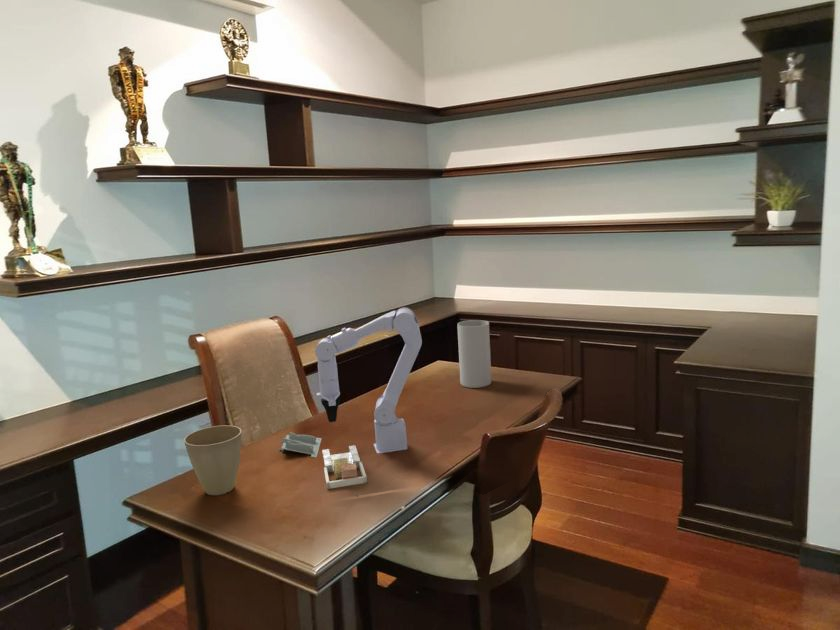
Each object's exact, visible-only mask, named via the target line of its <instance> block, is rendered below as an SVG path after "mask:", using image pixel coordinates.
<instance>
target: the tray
mask: <svg viewBox="0 0 840 630" xmlns="http://www.w3.org/2000/svg"><path fill="white" fill-rule="evenodd" d="M358 469H359V471H360V474H361V476H357V477H355V478H348V479H342V478H341V479H337V480H336V479H335V480H331V481H330V478H329V472H327V467H325V466H324V467H323V473H324V478H325V484H326V489H327V490H329V489H335V488H336V489H337V488H342V487H348V486H349V487H350V486H354V485H362V484H367V483H368V480H367V479H368V478H367V477H368V476H367V474H366V471H365V468H364V465H363V462H362V461H360V462H359V468H358Z"/></svg>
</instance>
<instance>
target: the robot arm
mask: <svg viewBox="0 0 840 630" xmlns="http://www.w3.org/2000/svg"><path fill="white" fill-rule="evenodd" d="M383 330H385V331H388V332H389V331H390V332H394V330H395V331H396V332H397V333H398V334H399V335H400V336H401V338H402V339H403V342H404V346H403V349H402V351H401V353H400V355H399V357H398V359H397V362H396V365H395V367H394V369H393V372H392V373H391V376H390V378H389V381H388V383H387V386H386V388H385V389H384V391H383V393H382V395H381V396H380V397H378V398H377V400H376V402H375V409H374V412H373V418H374V420H373V423H374V433H375V434H374V436H375V443H373V446H374V449H375V451H376V454H383V453H391V452H396V451H403V450H408V439H407V438H408V437H407V426H406V423H405V420H404V418H398V417H397V415H396V408H397V404H398V401H399V399H400V395H401V394H402V392H403V388H404V386H405V384H406V383H407V379H408V377H409V375H410V373H411V371H412V368H413V366H414V363H415V361H416V359H417V357H418V355H419V352H420V350H421V347H422V344H423V340H422V333H421V331H420V324H419V320H418V317H417V316H416V314H415V312H414V311H413V310H412V309H411V308H409V307H400V308H399V309H397V310H392V311H390V312H388V313H385V314H383V315H381V316H379V317H377V318H375V319H373V320H371V321H369V322H368V323H365V324H363V325H362V326H359V327H357V328H352V327H348V328H346V327H343V328H341V331H340V332H337V333H335V334H333V335H330V334H329V335H327V338H322V339H321V340H319V341H318V343H317V345H316V346H315V348H314V353H315V356H316V358H317V372H318V382H319V383H318V386H319V392H317V393H316V397H317V398H320V402H321V404H322V406H323V409H324V410H325V412H326V417H327V420H328V423H334V422H337V415H338V408H339V406H340V404H341V397H340V395H341V392H340V385H339V376H338V375H339V373H338V363H337V359H336V357H337V356H336V354H338V355H339V354H342V353H343V352H345V351H349V350H350V349H352V348H354V347H356V346H358V345H359V343H360V340H361V339H363V338H367V337H368V336H371V335H373V334H376V333H378V332H381V331H383Z"/></svg>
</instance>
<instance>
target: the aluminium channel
mask: <svg viewBox="0 0 840 630" xmlns="http://www.w3.org/2000/svg"><path fill="white" fill-rule="evenodd" d="M321 452H322V459H323V464H324V467H327V472H328V473H332V472H333V473H334V467H333V460H335V459H341V458H347V460H348V463H349V464H350V463H356V469H360V468H359V462H361V458H360V455H359V453H358V450H357V447H356V445H354V444H353V445H348V452H343V453H342V452H341V453H334V454H331V453H330V449H329V448H327V449H322V451H321Z"/></svg>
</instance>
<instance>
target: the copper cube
mask: <svg viewBox="0 0 840 630" xmlns="http://www.w3.org/2000/svg"><path fill="white" fill-rule="evenodd" d="M357 469H358V468H356V463H350V464H342V465H341V472H342V478H341V480H342V479H348V478H355V477H358V470H357Z"/></svg>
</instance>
